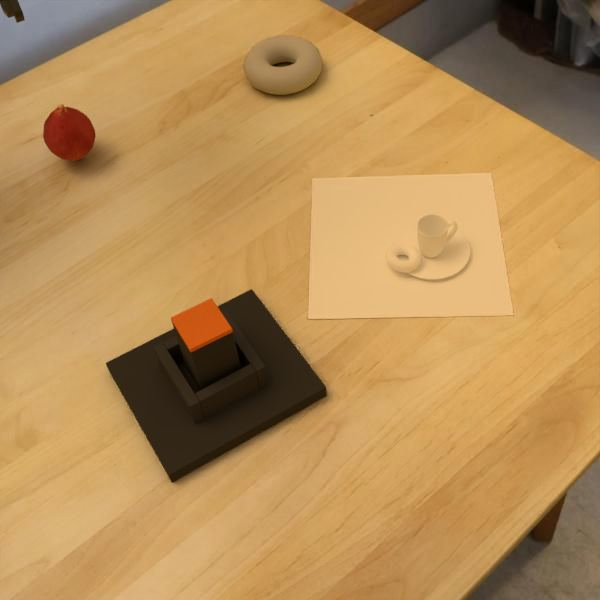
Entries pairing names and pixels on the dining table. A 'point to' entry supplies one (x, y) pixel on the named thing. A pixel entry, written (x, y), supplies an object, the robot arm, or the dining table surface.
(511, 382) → the dining table surface
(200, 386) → the pad block
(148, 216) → the dining table surface
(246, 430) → the base pad
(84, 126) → the pomegranate
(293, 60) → the donut
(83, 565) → the dining table surface
